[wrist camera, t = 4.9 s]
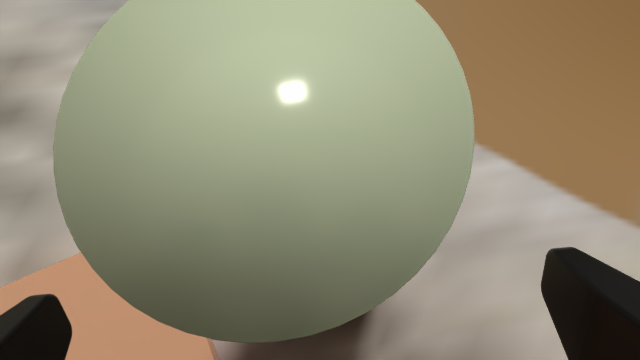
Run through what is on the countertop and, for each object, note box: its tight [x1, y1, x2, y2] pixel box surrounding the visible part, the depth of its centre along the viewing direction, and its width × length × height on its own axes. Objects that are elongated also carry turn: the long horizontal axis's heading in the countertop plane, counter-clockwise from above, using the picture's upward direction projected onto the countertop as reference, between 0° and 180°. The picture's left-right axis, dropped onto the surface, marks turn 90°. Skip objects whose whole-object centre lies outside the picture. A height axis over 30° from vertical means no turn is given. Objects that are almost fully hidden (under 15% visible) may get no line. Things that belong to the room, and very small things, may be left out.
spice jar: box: [53, 0, 474, 343], centre depth 11 cm, size 5×5×13 cm
